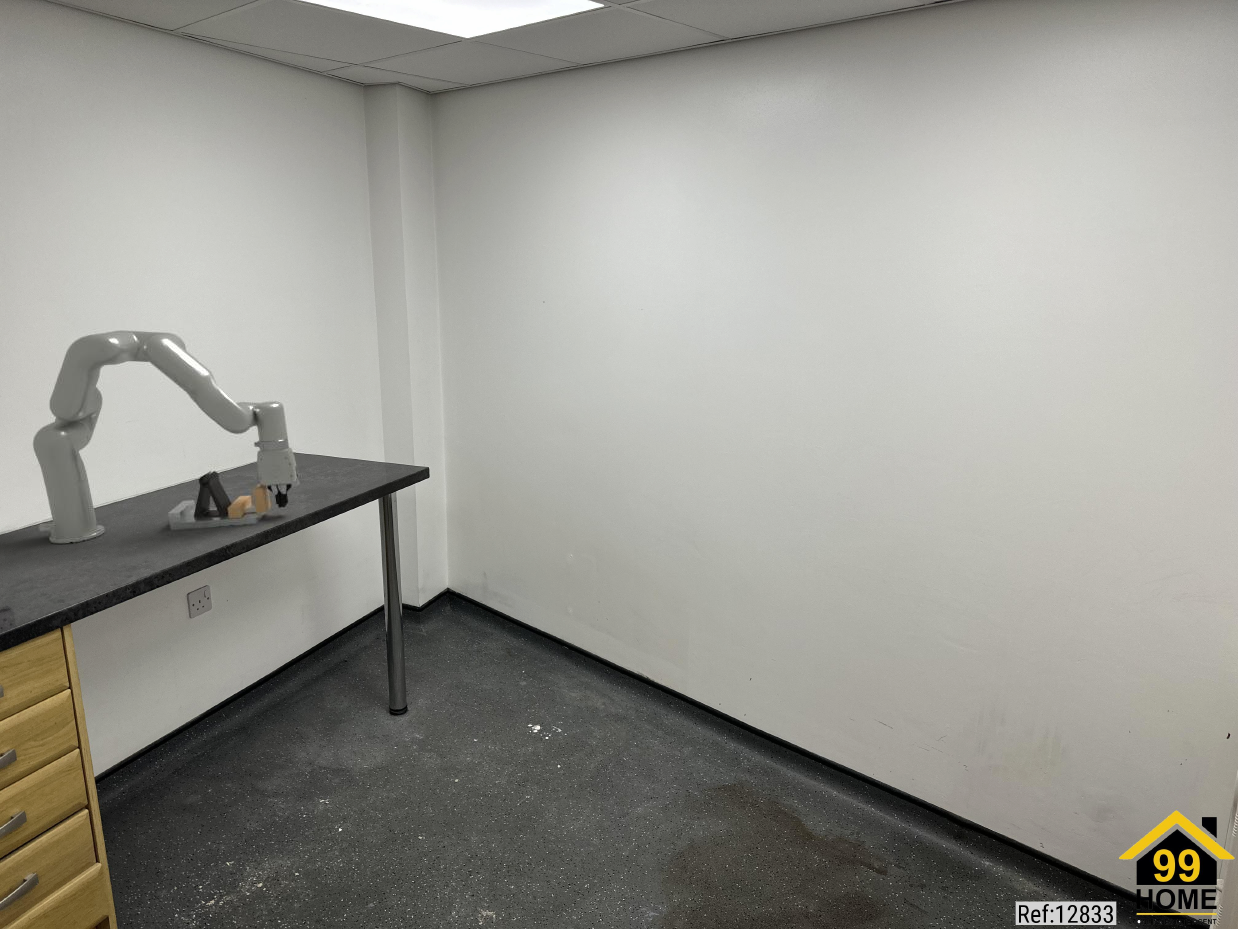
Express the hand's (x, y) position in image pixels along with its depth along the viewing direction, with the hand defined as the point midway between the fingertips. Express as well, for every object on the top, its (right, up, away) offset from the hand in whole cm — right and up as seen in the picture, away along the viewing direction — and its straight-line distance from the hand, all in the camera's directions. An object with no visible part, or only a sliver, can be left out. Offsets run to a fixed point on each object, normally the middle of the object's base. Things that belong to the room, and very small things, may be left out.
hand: (282, 506), depth 225 cm
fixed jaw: (-27, -3, -4) cm, 27 cm away
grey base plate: (-17, -4, -2) cm, 18 cm away
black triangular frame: (-19, -2, -3) cm, 19 cm away
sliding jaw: (-8, -1, -1) cm, 9 cm away
